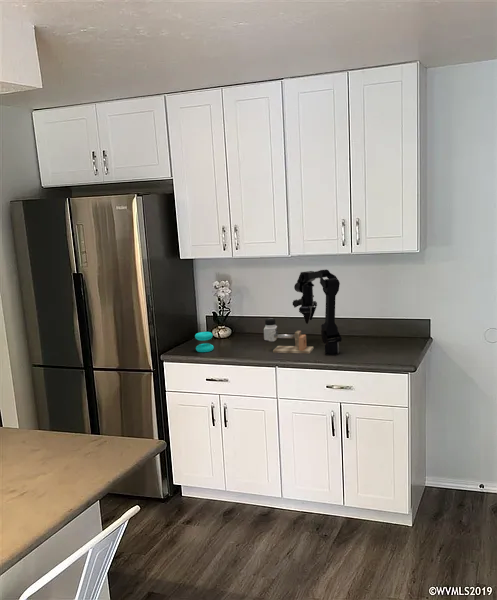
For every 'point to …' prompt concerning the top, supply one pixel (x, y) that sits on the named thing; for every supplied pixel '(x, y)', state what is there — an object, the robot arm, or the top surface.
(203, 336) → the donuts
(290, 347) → the bracket
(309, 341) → the top surface
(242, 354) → the top surface
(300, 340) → the spacer
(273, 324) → the medicine bottle
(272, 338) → the shaft
